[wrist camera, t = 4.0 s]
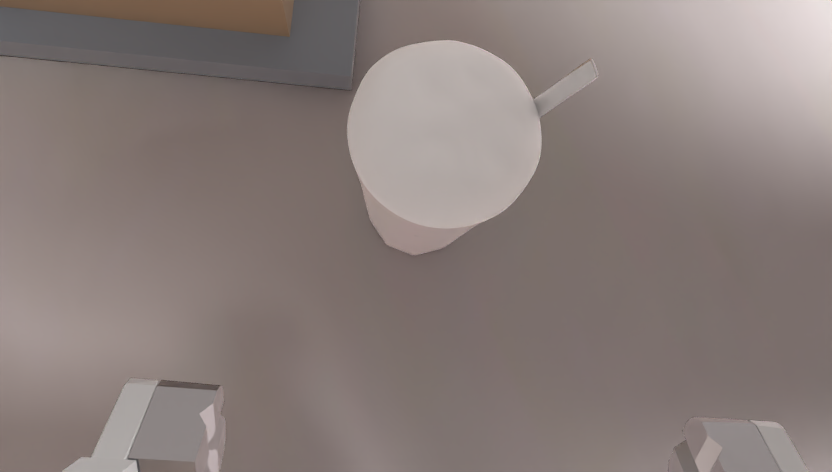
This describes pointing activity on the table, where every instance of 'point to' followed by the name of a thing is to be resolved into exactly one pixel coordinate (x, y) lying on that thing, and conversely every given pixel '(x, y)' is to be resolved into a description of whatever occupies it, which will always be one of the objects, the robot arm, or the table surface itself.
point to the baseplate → (192, 36)
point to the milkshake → (446, 139)
